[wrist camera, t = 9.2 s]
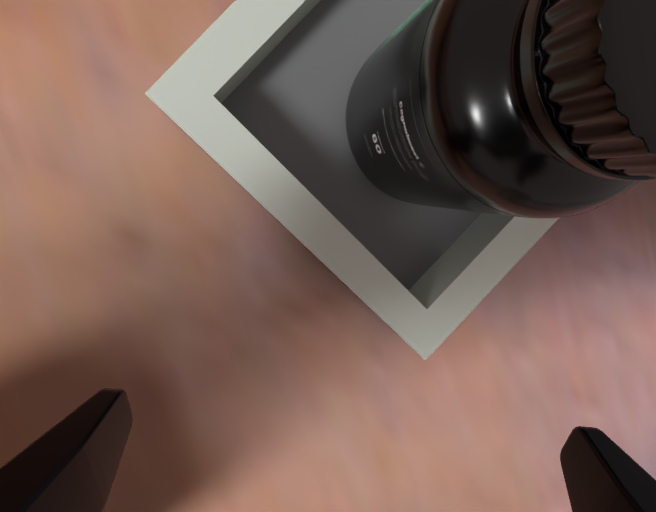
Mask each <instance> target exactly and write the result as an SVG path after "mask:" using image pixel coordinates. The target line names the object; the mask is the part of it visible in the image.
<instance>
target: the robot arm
mask: <svg viewBox="0 0 656 512" xmlns="http://www.w3.org/2000/svg"><path fill="white" fill-rule="evenodd" d="M131 426H132V412H131V408H130V405H129V401H128V397H127V394H126V392H125V391H124V390H122V389H112V388H105V389H102V390H100V391H99V392H97V393H96V394H95V395H93V396H92V397H91V398H90V399H88V400H87V401H86V402H84V403H83V404H82V405H81V406H79V407H78V408H77V409H75V410H74V411H73V412H72V413H70V414H69V415H68V416H66V417H65V418H64V419H63V420H61V421H60V422H59V423H58V424H56V425H55V426H54V427H52V428H51V429H50V430H49V431H47V432H46V433H45V434H43V435H42V436H41V437H40V438H38V439H37V440H36V441H34V442H33V443H32V444H31V445H29V446H28V447H27V448H25V449H24V450H23V451H22V452H20V453H19V454H18V455H16V456H15V457H14V458H13V459H11V460H10V461H9V462H7V463H6V464H5V465H4V466H2V467H1V468H0V512H102V511H103V508H104V506H105V503H106V501H107V498H108V495H109V492H110V489H111V486H112V483H113V480H114V477H115V474H116V471H117V468H118V465H119V462H120V459H121V456H122V453H123V450H124V447H125V444H126V441H127V438H128V435H129V432H130V429H131ZM560 461H561V466H562V470H563V474H564V478H565V483H566V487H567V491H568V495H569V499H570V503H571V508H572V512H656V480H655V479H654V478H653V477H652V476H650V475H649V474H648V473H647V472H646V471H645V470H644V469H643V468H642V467H641V466H640V465H638V464H637V463H636V462H635V461H634V460H633V459H632V458H631V457H630V456H629V455H627V454H626V453H625V452H624V451H623V450H622V449H621V448H620V447H619V446H618V445H617V444H615V443H614V442H613V441H612V440H611V439H610V438H609V437H608V436H607V435H606V434H604V433H603V432H602V431H601V430H599V429H597V428H593V427H581V426H578V427H575V428H574V429H573V430H572V432H571V434H570V436H569V437H568V439H567V441H566V443H565V444H564V446H563V448H562V450H561V454H560Z"/></svg>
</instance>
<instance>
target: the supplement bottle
mask: <svg viewBox="0 0 656 512" xmlns="http://www.w3.org/2000/svg"><path fill="white" fill-rule="evenodd" d="M346 132H347V138H348V142H349V146H350V149H351V152H352V154H353V157H354V159H355V161H356V163H357V165H358V166H359V168H360V169H361V171H362V172H363V174H364V175H365V176H366V178H367V179H368V180H369V181H370V182H371V183H372V184H373V185H374V186H376V187H377V188H378V189H379V190H381V191H382V192H384V193H385V194H387V195H389V196H391V197H393V198H395V199H398V200H400V201H404V202H407V203H412V204H417V205H423V206H431V207H440V208H448V209H456V210H465V211H473V212H481V213H490V214H498V215H507V216H515V217H525V218H561V217H569V216H573V215H577V214H581V213H584V212H587V211H590V210H593V209H595V208H597V207H600V206H602V205H604V204H606V203H608V202H610V201H611V200H613V199H615V198H616V197H618V196H620V195H621V194H623V193H624V192H626V191H627V190H628V189H630V188H631V187H632V186H634V185H635V184H636V183H637V182H638V181H640V180H649V179H654V178H656V0H426V1H425V2H424V3H423V4H422V5H421V6H420V7H419V8H418V9H417V10H416V11H414V12H413V13H412V14H411V15H410V16H409V17H408V18H407V19H406V20H405V21H404V22H403V23H402V24H401V25H400V26H399V27H398V28H397V29H396V30H395V31H394V32H393V33H392V34H391V35H390V36H389V37H388V38H387V39H386V40H385V41H384V42H383V43H382V44H381V45H380V46H379V47H378V48H377V49H376V50H375V51H374V52H373V53H372V54H371V55H370V56H369V58H368V59H367V60H366V61H365V63H364V64H363V66H362V67H361V69H360V70H359V72H358V73H357V75H356V77H355V79H354V81H353V84H352V87H351V89H350V93H349V96H348V101H347V106H346Z"/></svg>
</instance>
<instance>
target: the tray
mask: <svg viewBox="0 0 656 512" xmlns="http://www.w3.org/2000/svg"><path fill="white" fill-rule="evenodd" d="M425 1H426V0H235V1H234V2H233V3H232V5H231V6H230V7H229V8H228V9H227V10H226V11H225V12H224V13H223V14H222V15H221V16H220V17H219V18H218V19H217V20H216V21H215V22H214V23H213V24H212V25H211V26H210V27H209V28H208V29H207V30H206V31H205V32H204V33H203V34H202V35H201V36H200V37H199V38H198V39H197V40H196V42H195V43H194V44H193V45H192V46H191V47H190V48H189V49H188V50H187V51H186V52H185V53H184V54H183V55H182V56H181V57H180V58H179V59H178V60H177V61H176V62H175V63H174V64H173V65H172V66H171V67H170V68H169V69H168V70H167V71H166V72H165V73H164V74H163V75H162V76H161V77H160V78H159V80H158V81H157V82H156V83H155V84H154V85H153V86H152V87H151V88H150V89H149V90H148V91H147V92H146V93H145V94H146V95H147V96H148V97H149V98H150V99H151V100H152V101H153V102H154V103H155V104H156V105H157V106H158V107H159V108H160V109H161V110H162V111H164V112H165V113H166V114H167V115H168V116H169V117H170V118H171V119H172V120H173V121H174V122H175V123H176V124H177V125H178V126H179V127H180V128H181V129H182V130H184V131H185V132H186V133H187V134H188V135H189V136H190V137H191V138H192V139H193V140H194V141H195V142H196V143H197V144H198V145H199V146H200V147H201V148H202V149H203V150H205V151H206V152H207V153H208V154H209V155H210V156H211V157H212V158H213V159H214V160H215V161H216V162H217V163H218V164H219V165H220V166H221V167H222V168H223V169H224V170H226V171H227V172H228V173H229V174H230V175H231V176H232V177H233V178H234V179H235V180H236V181H237V182H238V183H239V184H240V185H241V186H242V187H243V188H244V189H246V190H247V191H248V192H249V193H250V194H251V195H252V196H253V197H254V198H255V199H256V200H257V201H258V202H259V203H260V204H261V205H262V206H263V207H264V208H265V209H267V210H268V211H269V212H270V213H271V214H272V215H273V216H274V217H275V218H276V219H277V220H278V221H279V222H280V223H281V224H282V225H283V226H284V227H285V228H286V229H288V230H289V231H290V232H291V233H292V234H293V235H294V236H295V237H296V238H297V239H298V240H299V241H300V242H301V243H302V244H303V245H304V246H305V247H306V248H308V249H309V250H310V251H311V252H312V253H313V254H314V255H315V256H316V257H317V258H318V259H319V260H320V261H321V262H322V263H323V264H324V265H325V266H326V267H327V268H329V269H330V270H331V271H332V272H333V273H334V274H335V275H336V276H337V277H338V278H339V279H340V280H341V281H342V282H343V283H344V284H345V285H346V286H347V287H348V288H350V289H351V290H352V291H353V292H354V293H355V294H356V295H357V296H358V297H359V298H360V299H361V300H362V301H363V302H364V303H365V304H366V305H367V306H368V307H370V308H371V309H372V310H373V311H374V312H375V313H376V314H377V315H378V316H379V317H380V318H381V319H382V320H383V321H384V322H385V323H386V324H387V325H388V326H389V327H391V328H392V329H393V330H394V331H395V332H396V333H397V334H398V335H399V336H400V337H401V338H402V339H403V340H404V341H405V342H406V343H407V344H408V345H409V346H411V347H412V348H413V349H414V350H415V351H416V352H417V353H418V354H419V355H420V356H421V357H422V358H423V359H424V360H425V361H426V359H427V358H428V357H429V356H430V355H431V354H432V353H433V352H434V351H435V350H436V349H437V348H438V347H439V346H440V345H441V344H442V342H443V341H444V340H445V339H446V338H447V337H448V336H449V335H450V334H451V333H452V332H453V331H454V330H455V329H456V328H457V326H458V325H459V324H460V323H461V322H462V321H463V320H464V319H465V318H466V317H467V316H468V315H469V314H470V313H471V312H472V310H473V309H474V308H475V307H476V306H477V305H478V304H479V303H480V302H481V301H482V300H483V299H484V298H485V297H486V296H487V294H488V293H489V292H490V291H491V290H492V289H493V288H494V287H495V286H496V285H497V284H498V283H499V282H500V281H501V280H502V279H503V277H504V276H505V275H506V274H507V273H508V272H509V271H510V270H511V269H512V268H513V267H514V266H515V265H516V264H517V263H518V261H519V260H520V259H521V258H522V257H523V256H524V255H525V254H526V253H527V252H528V251H529V250H530V249H531V248H532V247H533V245H534V244H535V243H536V242H537V241H538V240H539V239H540V238H541V237H542V236H543V235H544V234H545V233H546V232H547V231H548V230H549V228H550V227H551V226H552V225H553V224H554V223H555V222H556V221H557V220H558V219H559V218H525V217H515V216H507V215H498V214H490V213H481V212H473V211H465V210H456V209H448V208H440V207H431V206H423V205H417V204H412V203H407V202H404V201H400V200H398V199H395V198H393V197H391V196H389V195H387V194H385V193H384V192H382V191H381V190H379V189H378V188H377V187H376V186H374V185H373V184H372V183H371V182H370V181H369V180H368V179H367V178H366V176H365V175H364V174H363V172H362V171H361V169H360V168H359V166H358V165H357V163H356V161H355V159H354V157H353V154H352V152H351V149H350V146H349V142H348V138H347V132H346V106H347V101H348V96H349V93H350V89H351V87H352V84H353V81H354V79H355V77H356V75H357V73H358V72H359V70H360V69H361V67H362V66H363V64H364V63H365V61H366V60H367V59H368V58H369V56H370V55H371V54H372V53H373V52H374V51H375V50H376V49H377V48H378V47H379V46H380V45H381V44H382V43H383V42H384V41H385V40H386V39H387V38H388V37H389V36H390V35H391V34H392V33H393V32H394V31H395V30H396V29H397V28H398V27H399V26H400V25H401V24H402V23H403V22H404V21H405V20H406V19H407V18H408V17H409V16H410V15H411V14H412V13H413V12H414V11H416V10H417V9H418V8H419V7H420V6H421V5H422V4H423V3H424V2H425Z"/></svg>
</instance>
